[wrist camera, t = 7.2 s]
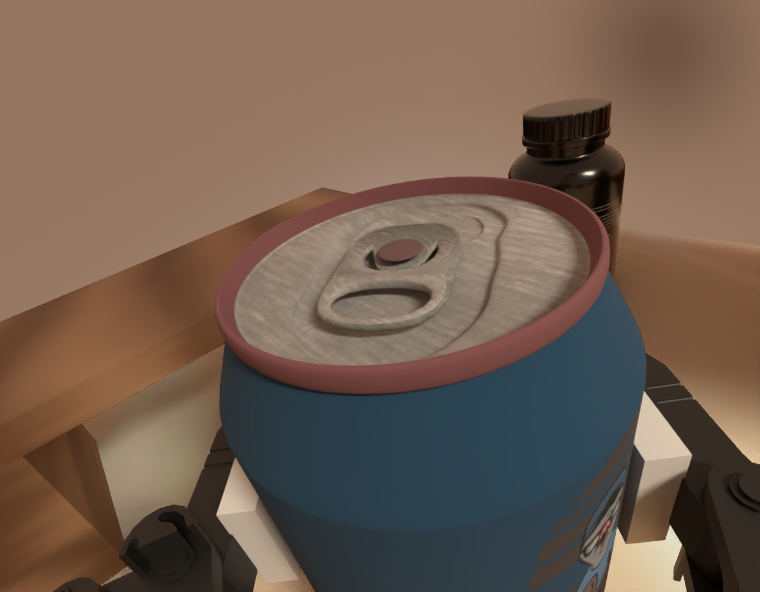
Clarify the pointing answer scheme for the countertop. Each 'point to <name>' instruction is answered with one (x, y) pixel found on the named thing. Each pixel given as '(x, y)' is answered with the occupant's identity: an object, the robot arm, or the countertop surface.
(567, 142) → the supplement bottle
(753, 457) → the countertop surface
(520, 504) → the soda can
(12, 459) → the bridge shelf
